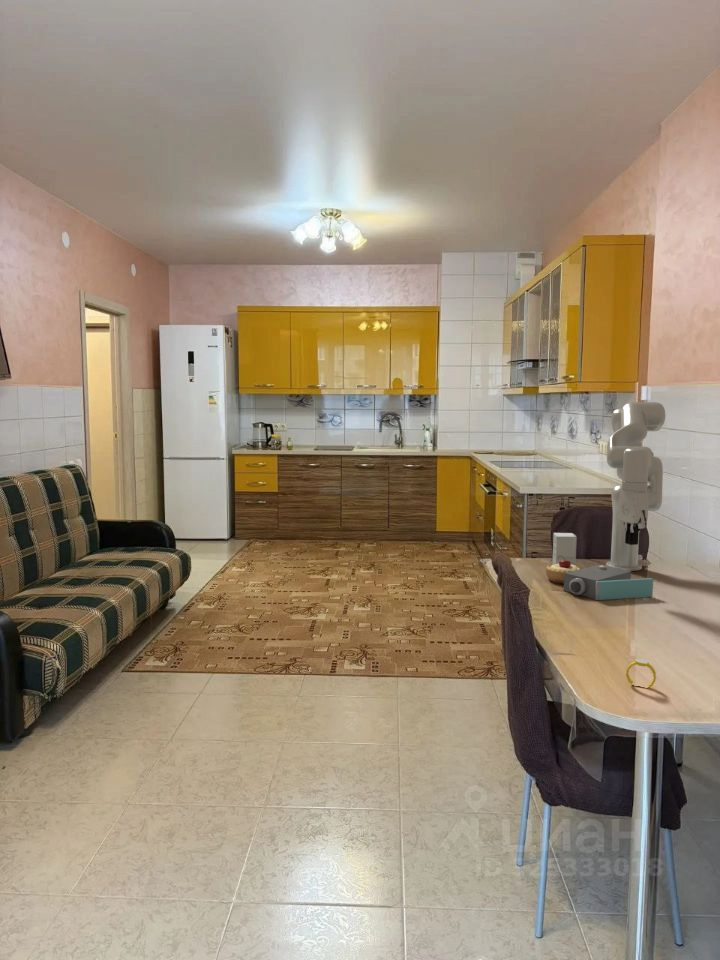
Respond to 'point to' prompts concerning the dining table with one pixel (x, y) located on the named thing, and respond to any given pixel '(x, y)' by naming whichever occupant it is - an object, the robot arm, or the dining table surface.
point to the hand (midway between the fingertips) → (631, 543)
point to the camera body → (592, 579)
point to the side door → (624, 589)
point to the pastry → (559, 570)
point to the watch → (641, 663)
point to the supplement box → (564, 547)
